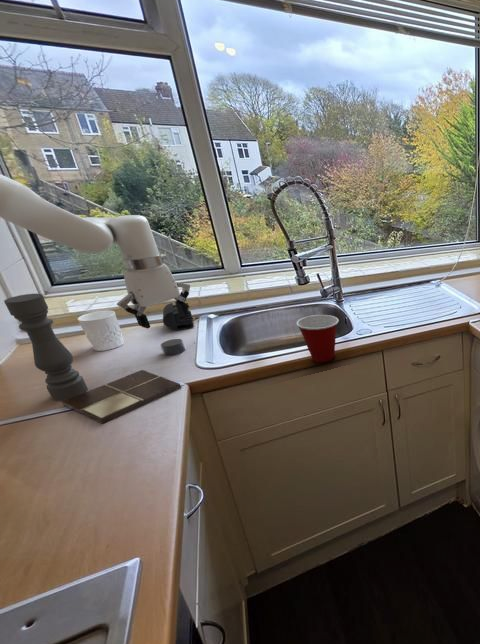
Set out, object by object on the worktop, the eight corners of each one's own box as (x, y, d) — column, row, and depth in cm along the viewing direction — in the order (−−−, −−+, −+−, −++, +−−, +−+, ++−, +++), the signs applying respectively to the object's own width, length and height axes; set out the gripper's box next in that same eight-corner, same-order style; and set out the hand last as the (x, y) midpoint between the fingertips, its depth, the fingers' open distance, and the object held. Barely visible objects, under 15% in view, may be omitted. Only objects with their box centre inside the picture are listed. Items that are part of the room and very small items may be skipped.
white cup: (127, 337, 127) (115, 308, 123) (126, 347, 121) (114, 316, 117) (92, 344, 122) (79, 314, 118) (89, 354, 117) (75, 323, 113)
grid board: (102, 424, 89) (100, 419, 88) (64, 405, 95) (61, 401, 94) (181, 387, 102) (179, 383, 102) (143, 373, 108) (141, 369, 108)
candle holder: (92, 391, 100) (48, 296, 90) (57, 403, 95) (6, 305, 85) (82, 383, 103) (39, 291, 93) (48, 395, 98) (-2, 299, 88)
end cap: (167, 323, 138) (160, 304, 135) (192, 318, 142) (187, 300, 139) (166, 333, 130) (160, 314, 128) (194, 328, 134) (188, 309, 132)
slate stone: (170, 357, 117) (167, 347, 115) (160, 353, 118) (156, 344, 117) (189, 349, 121) (186, 340, 120) (178, 346, 123) (175, 337, 121)
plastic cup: (350, 358, 118) (344, 320, 113) (311, 370, 111) (304, 331, 107) (335, 345, 125) (329, 309, 121) (298, 356, 118) (290, 319, 114)
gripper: (170, 253, 117) (189, 308, 124) (95, 269, 103) (121, 330, 110) (187, 256, 115) (205, 312, 122) (112, 273, 100) (137, 335, 107)
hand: (165, 320), depth 116 cm, fingers open, 9 cm apart
